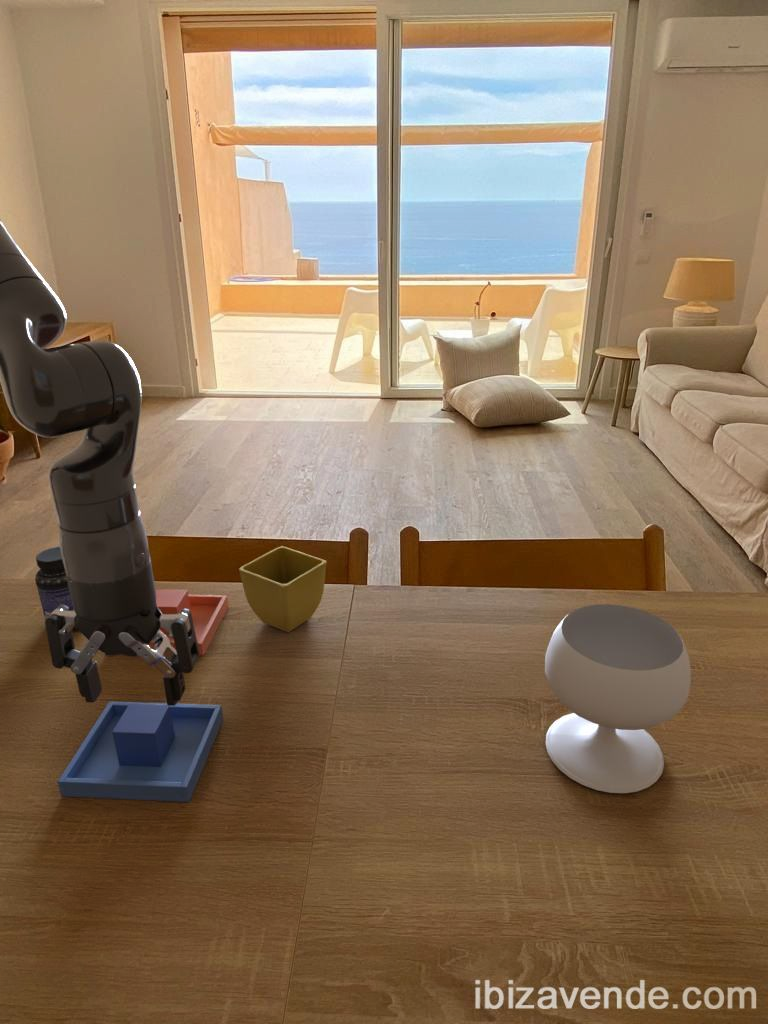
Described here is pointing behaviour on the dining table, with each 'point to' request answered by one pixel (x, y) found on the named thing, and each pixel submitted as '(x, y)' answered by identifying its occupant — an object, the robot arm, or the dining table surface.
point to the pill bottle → (52, 581)
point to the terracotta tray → (204, 618)
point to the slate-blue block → (144, 735)
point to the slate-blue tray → (173, 781)
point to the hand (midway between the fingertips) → (134, 699)
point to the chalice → (614, 694)
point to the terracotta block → (171, 602)
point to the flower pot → (284, 586)
